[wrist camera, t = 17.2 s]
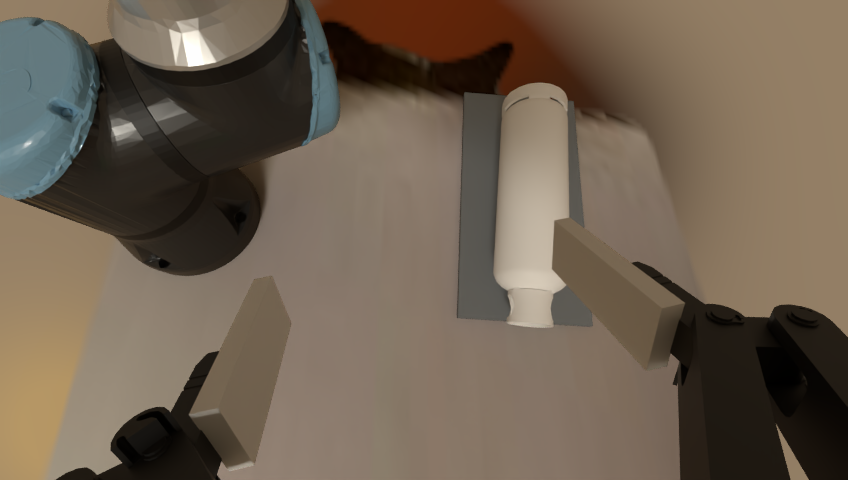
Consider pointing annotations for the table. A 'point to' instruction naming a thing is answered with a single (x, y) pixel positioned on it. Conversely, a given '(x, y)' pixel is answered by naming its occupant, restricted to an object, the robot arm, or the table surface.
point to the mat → (479, 216)
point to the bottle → (531, 200)
